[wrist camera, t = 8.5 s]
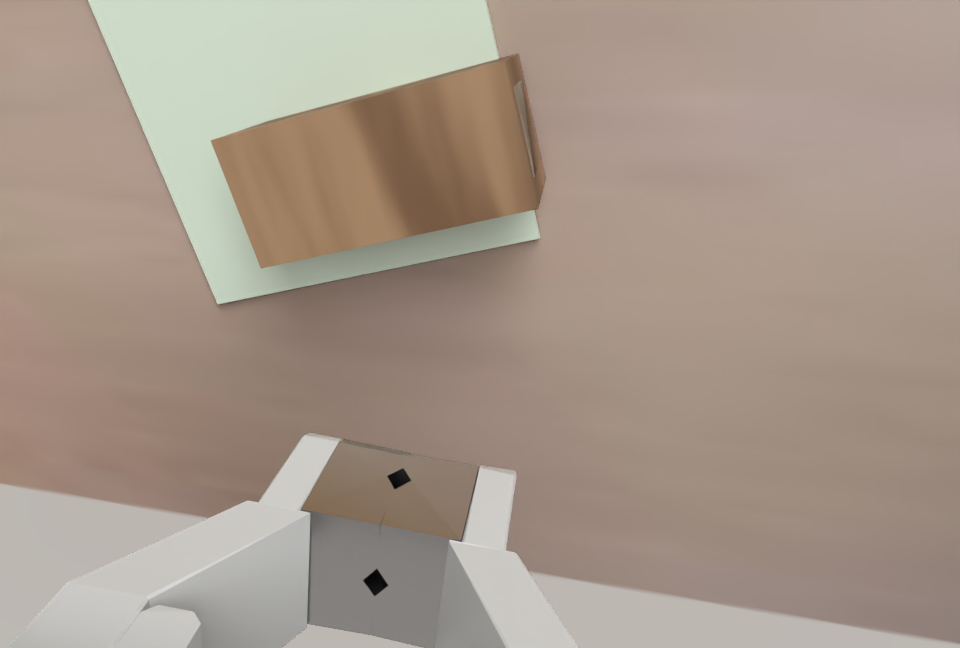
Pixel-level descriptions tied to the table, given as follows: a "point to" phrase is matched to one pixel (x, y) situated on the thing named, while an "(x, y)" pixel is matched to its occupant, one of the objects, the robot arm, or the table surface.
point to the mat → (284, 108)
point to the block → (387, 164)
